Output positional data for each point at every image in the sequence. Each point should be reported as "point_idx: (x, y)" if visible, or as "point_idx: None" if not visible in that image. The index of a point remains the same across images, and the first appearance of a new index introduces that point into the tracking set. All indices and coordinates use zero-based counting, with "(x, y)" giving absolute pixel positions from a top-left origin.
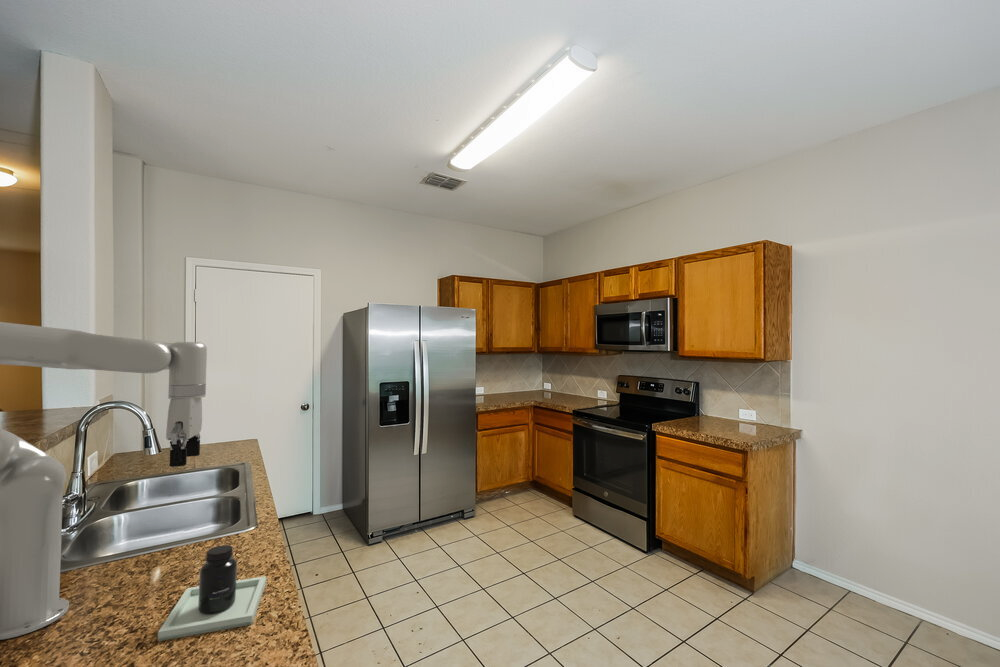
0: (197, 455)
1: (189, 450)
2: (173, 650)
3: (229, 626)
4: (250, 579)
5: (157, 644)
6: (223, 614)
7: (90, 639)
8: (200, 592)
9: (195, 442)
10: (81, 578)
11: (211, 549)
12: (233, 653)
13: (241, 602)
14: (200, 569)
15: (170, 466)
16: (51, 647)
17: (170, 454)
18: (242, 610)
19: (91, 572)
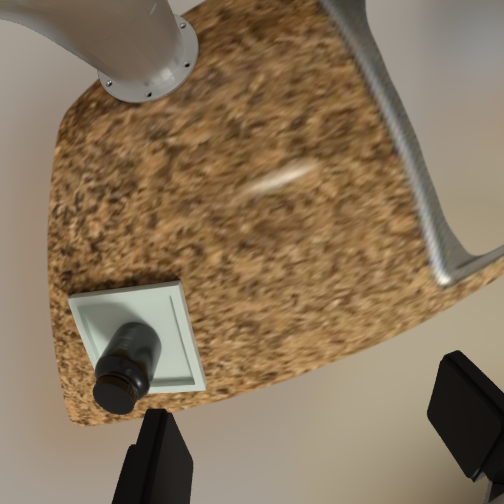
0: (427, 413)
1: (455, 403)
2: (61, 319)
3: None
4: (196, 373)
5: (69, 295)
6: None
7: (80, 196)
8: (108, 343)
9: (471, 464)
10: (289, 45)
11: (111, 388)
12: (65, 377)
13: None
14: (108, 356)
15: (149, 409)
16: (71, 153)
17: (129, 476)
18: None
19: (312, 49)
